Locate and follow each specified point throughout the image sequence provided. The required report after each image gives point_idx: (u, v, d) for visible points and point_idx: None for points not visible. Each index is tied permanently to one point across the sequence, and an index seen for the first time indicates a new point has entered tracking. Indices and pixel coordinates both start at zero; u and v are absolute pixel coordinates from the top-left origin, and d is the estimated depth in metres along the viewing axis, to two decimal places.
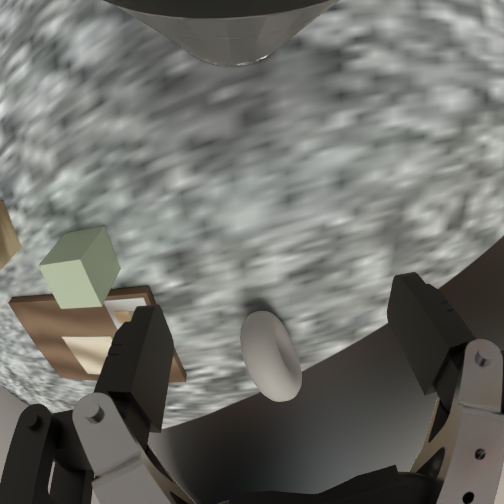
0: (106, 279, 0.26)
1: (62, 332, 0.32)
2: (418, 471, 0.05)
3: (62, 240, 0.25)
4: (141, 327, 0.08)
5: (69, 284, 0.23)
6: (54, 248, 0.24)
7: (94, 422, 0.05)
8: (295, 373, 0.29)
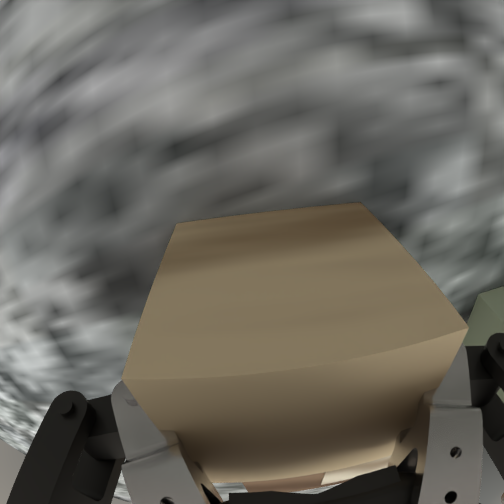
0: None
1: None
2: None
3: (501, 311, 0.10)
4: None
5: None
6: None
7: (136, 404, 0.06)
8: None
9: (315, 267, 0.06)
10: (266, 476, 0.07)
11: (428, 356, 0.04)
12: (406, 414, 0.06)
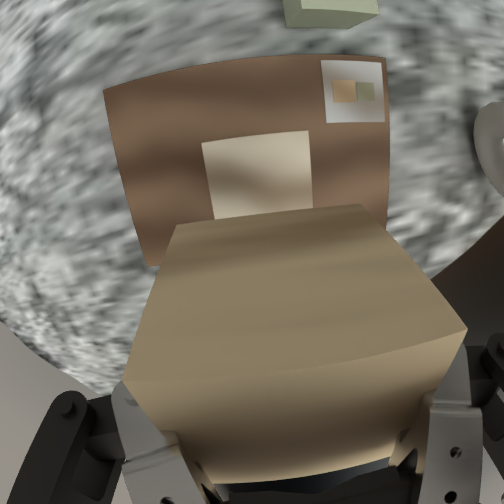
0: None
1: (206, 133, 0.21)
2: None
3: None
4: None
5: None
6: None
7: (136, 404, 0.06)
8: None
9: (314, 269, 0.06)
10: (266, 476, 0.07)
11: (427, 357, 0.04)
12: (405, 415, 0.06)
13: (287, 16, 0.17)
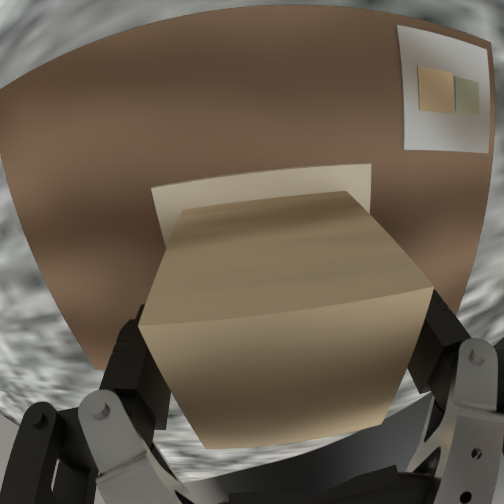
0: None
1: (160, 167, 0.10)
2: (414, 471, 0.05)
3: None
4: None
5: None
6: None
7: (100, 419, 0.05)
8: None
9: (302, 240, 0.08)
10: (262, 440, 0.08)
11: (399, 310, 0.06)
12: (388, 375, 0.07)
13: None
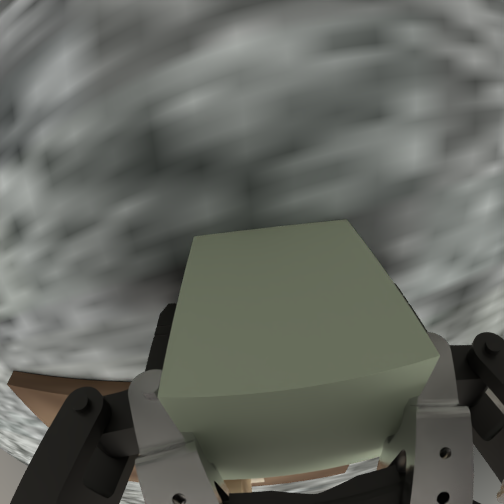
0: None
1: None
2: None
3: (205, 261, 0.08)
4: None
5: (309, 440, 0.06)
6: (191, 294, 0.07)
7: (155, 399, 0.06)
8: None
9: None
10: None
11: None
12: None
13: None
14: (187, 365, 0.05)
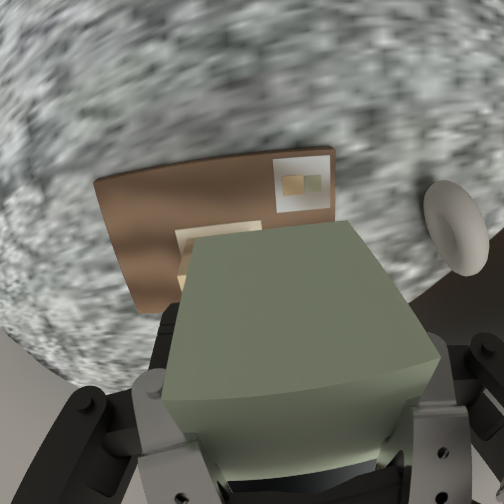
0: None
1: (178, 222, 0.27)
2: None
3: (207, 264, 0.08)
4: None
5: (311, 441, 0.06)
6: (193, 297, 0.07)
7: (159, 397, 0.06)
8: None
9: None
10: None
11: None
12: None
13: None
14: (190, 368, 0.05)
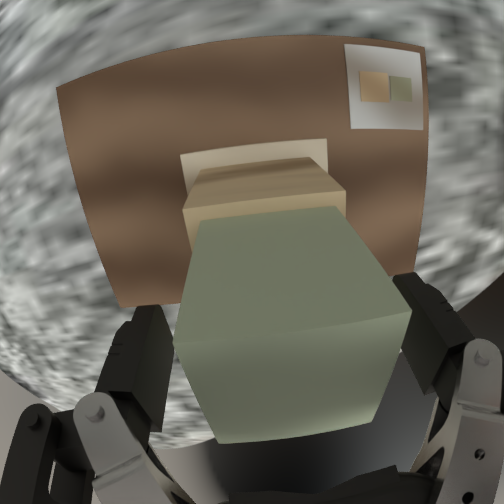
0: None
1: (186, 141, 0.15)
2: (418, 471, 0.05)
3: (211, 240, 0.09)
4: (142, 327, 0.08)
5: (302, 394, 0.07)
6: (199, 265, 0.08)
7: (95, 422, 0.05)
8: None
9: (274, 177, 0.13)
10: None
11: (325, 204, 0.11)
12: None
13: None
14: (197, 317, 0.06)
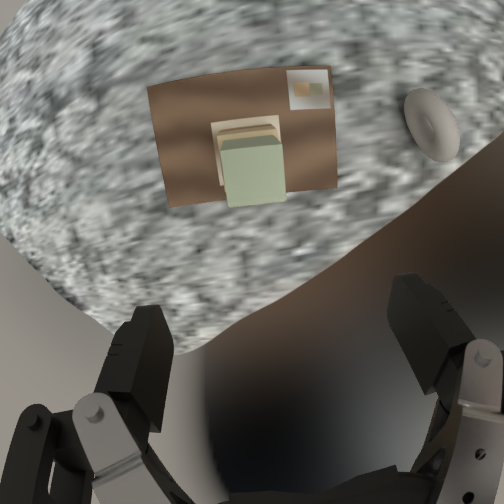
0: None
1: (214, 117, 0.33)
2: (418, 471, 0.05)
3: (228, 142, 0.27)
4: (141, 327, 0.08)
5: (255, 174, 0.24)
6: (225, 144, 0.26)
7: (94, 422, 0.05)
8: None
9: (252, 128, 0.30)
10: None
11: (269, 134, 0.28)
12: None
13: None
14: (226, 148, 0.24)
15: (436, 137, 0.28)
